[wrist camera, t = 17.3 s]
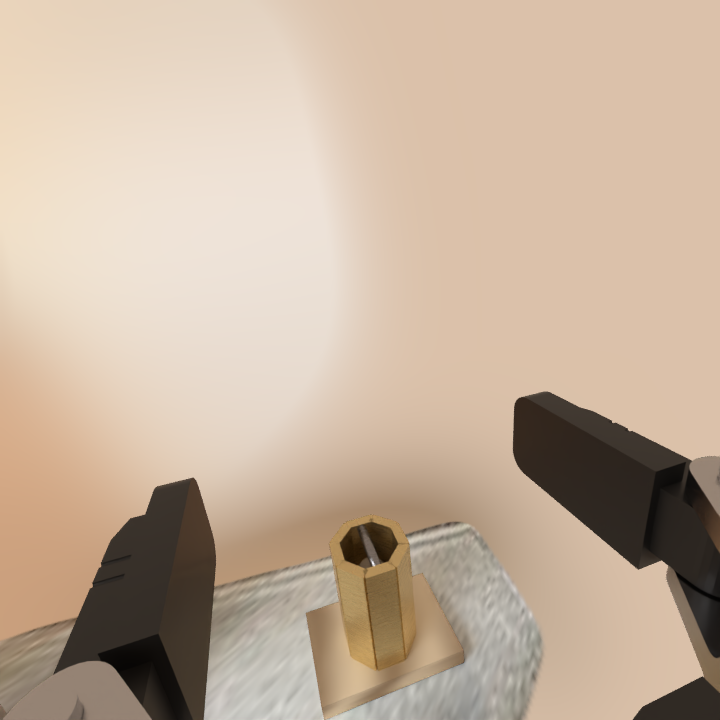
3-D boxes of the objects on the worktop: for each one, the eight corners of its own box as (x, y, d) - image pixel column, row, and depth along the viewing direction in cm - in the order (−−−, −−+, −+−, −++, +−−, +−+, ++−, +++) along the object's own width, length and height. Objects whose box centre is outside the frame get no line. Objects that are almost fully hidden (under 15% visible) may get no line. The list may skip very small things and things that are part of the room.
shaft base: (324, 720, 30) (305, 633, 27) (308, 624, 37) (292, 547, 34) (463, 662, 32) (461, 577, 29) (423, 583, 40) (418, 509, 37)
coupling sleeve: (356, 679, 31) (340, 586, 27) (339, 612, 36) (324, 528, 33) (425, 652, 32) (418, 561, 29) (399, 591, 38) (391, 508, 34)
